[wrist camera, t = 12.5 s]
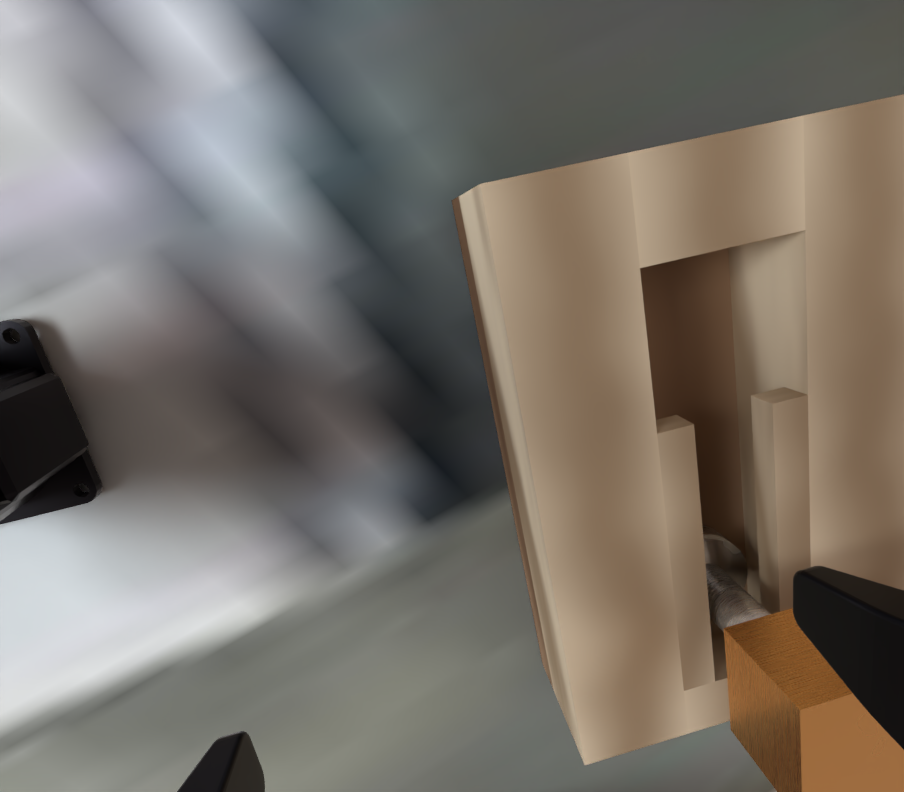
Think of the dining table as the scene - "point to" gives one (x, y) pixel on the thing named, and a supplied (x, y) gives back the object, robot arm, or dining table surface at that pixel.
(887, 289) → the keyhole track
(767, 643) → the peg
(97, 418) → the dining table surface
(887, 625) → the robot arm
